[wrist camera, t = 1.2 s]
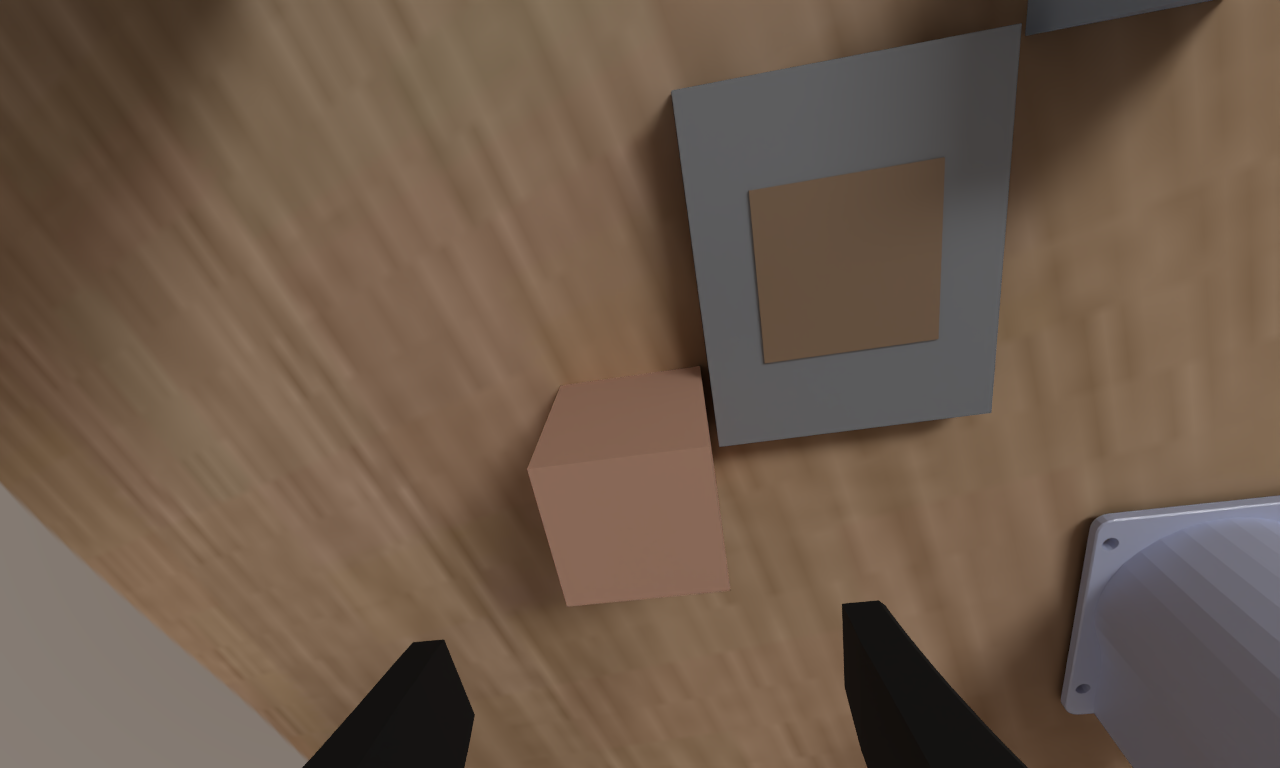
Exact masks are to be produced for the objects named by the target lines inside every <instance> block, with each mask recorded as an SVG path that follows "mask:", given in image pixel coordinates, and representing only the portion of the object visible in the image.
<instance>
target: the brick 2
mask: <svg viewBox="0 0 1280 768" xmlns="http://www.w3.org/2000/svg"><path fill="white" fill-rule="evenodd" d="M1206 1H1211V0H1028V8H1027V20H1026V33H1025V36H1028V35H1033V34H1038V33H1043V32H1049V31H1054V30H1059V29H1064V28H1070V27H1075V26H1080V25H1085V24H1091V23H1096V22H1101V21H1106V20H1112V19H1117V18H1122V17H1127V16H1133V15H1138V14H1143V13H1148V12H1154V11H1159V10H1164V9H1169V8H1175V7H1180V6H1185V5H1190V4H1196V3H1201V2H1206Z"/></svg>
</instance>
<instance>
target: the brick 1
mask: <svg viewBox="0 0 1280 768" xmlns="http://www.w3.org/2000/svg"><path fill="white" fill-rule="evenodd" d="M527 471H528V474H529V477H530V481H531V484H532V488H533V491H534V495H535V498H536V501H537V505H538V508H539V512H540V515H541V519H542V522H543V525H544V529H545V532H546V536H547V539H548V543H549V546H550V549H551V553H552V556H553V560H554V563H555V567H556V570H557V573H558V577H559V580H560V584H561V587H562V591H563V594H564V597H565V601H566V604H567V607H569V606H579V605H589V604H599V603H610V602H620V601H630V600H640V599H650V598H660V597H671V596H681V595H691V594H701V593H711V592H721V591H731V590H730V582H729V575H728V567H727V559H726V552H725V544H724V537H723V529H722V521H721V514H720V506H719V499H718V491H717V484H716V476H715V469H714V462H713V455H712V448H711V441H710V434H709V427H708V420H707V413H706V406H705V398H704V391H703V384H702V377H701V370H700V366H696V367H689V368H682V369H675V370H668V371H661V372H654V373H646V374H639V375H632V376H625V377H618V378H611V379H604V380H597V381H590V382H583V383H576V384H568V385H561V386H560V388H559V391H558V393H557V396H556V398H555V401H554V403H553V406H552V408H551V411H550V413H549V416H548V418H547V421H546V423H545V426H544V428H543V431H542V433H541V436H540V438H539V441H538V443H537V446H536V448H535V451H534V453H533V456H532V458H531V461H530V463H529V465H528V468H527Z"/></svg>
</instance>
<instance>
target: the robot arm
mask: <svg viewBox="0 0 1280 768" xmlns="http://www.w3.org/2000/svg"><path fill="white" fill-rule="evenodd" d="M1107 539H1109V540H1107ZM1105 540H1107V541H1106V542H1104V541H1105ZM842 618H843V649H844V680H845V690H846V694H847V698H848V702H849V705H850V709H851V713H852V717H853V721H854V725H855V728H856V732H857V736H858V740H859V743H860V747H861V751H862V754H863V756H864V759H865V762H866V765H867V767H868V768H1027V767H1026V765H1025V764H1024V763H1023V762H1022V761H1021V760H1020V759H1019V758H1018V757H1017V756H1016V755H1015V754H1014V753H1013V752H1012V751H1011V750H1010V749H1009V748H1008V747H1007V746H1006V745H1005V744H1004V743H1003V742H1002V741H1001V740H1000V739H999V738H998V737H997V736H996V735H995V734H994V733H993V732H992V731H991V730H990V729H989V728H988V726H987V725H986V724H985V723H984V722H983V721H982V720H981V719H980V718H979V717H978V716H977V715H976V713H975V712H974V711H973V710H972V709H971V708H970V707H969V706H968V705H967V704H966V702H965V701H964V700H963V699H962V698H961V697H960V696H959V695H958V694H957V693H956V691H955V690H954V689H953V688H952V687H951V686H950V685H949V684H948V683H947V681H946V680H945V679H944V678H943V677H942V676H941V674H940V673H939V672H938V671H937V670H936V669H935V667H934V666H933V665H932V664H931V663H930V662H929V660H928V659H927V658H926V657H925V656H924V654H923V653H922V652H921V651H920V650H919V648H918V647H917V646H916V645H915V643H914V642H913V641H912V640H911V639H910V637H909V636H908V635H907V633H906V632H905V631H904V630H903V628H902V627H901V626H900V625H899V623H898V622H897V621H896V619H895V618H894V617H893V615H892V614H891V613H890V611H889V610H888V609H887V607H886V606H885V605H884V604H883V603H881V602H880V601H868V602H857V603H846V604H842ZM1061 703H1062V705H1063V706H1064V708H1065V709H1066V710H1067V712H1069V713H1071V714H1091V713H1094V714H1095V715H1096V717H1097V718H1098V719H1099V721H1100V722H1101V724H1102V725H1103V726H1104V728H1105V729H1106V731H1107V732H1108V733H1109V735H1110V736H1111V738H1112V739H1113V740H1114V742H1115V743H1116V745H1117V746H1118V747H1119V749H1120V750H1121V752H1122V753H1123V754H1124V756H1125V757H1126V759H1127V760H1128V761H1129V763H1130V764H1131V766H1132V767H1133V768H1280V496H1270V497H1261V498H1251V499H1242V500H1233V501H1223V502H1214V503H1204V504H1195V505H1185V506H1176V507H1167V508H1157V509H1148V510H1138V511H1129V512H1119V513H1110V514H1105V515H1101V516H1099V517H1097V518H1096V519H1095V520H1094V521H1093V522H1092V524H1091V526H1090V530H1089V535H1088V541H1087V547H1086V553H1085V559H1084V565H1083V571H1082V577H1081V583H1080V589H1079V595H1078V600H1077V606H1076V612H1075V618H1074V624H1073V630H1072V636H1071V642H1070V648H1069V654H1068V659H1067V665H1066V671H1065V677H1064V683H1063V689H1062V695H1061ZM474 716H475V714H474V712H473V710H472V707H471V705H470V702H469V700H468V697H467V695H466V692H465V690H464V687H463V685H462V682H461V680H460V678H459V675H458V673H457V670H456V668H455V665H454V663H453V660H452V658H451V655H450V653H449V650H448V648H447V646H446V643H445V641H444V640H434V641H423V642H413V643H412V644H411V645H410V646H409V648H408V649H407V650H406V651H405V652H404V653H403V654H402V655H401V656H400V658H399V659H398V660H397V661H396V662H395V663H394V664H393V666H392V667H391V668H390V669H389V670H388V671H387V672H386V674H385V675H384V676H383V677H382V678H381V679H380V681H379V682H378V683H377V684H376V685H375V686H374V688H373V689H372V690H371V691H370V692H369V693H368V694H367V696H366V697H365V698H364V699H363V700H362V701H361V703H360V704H359V705H358V706H357V707H356V708H355V709H354V711H353V712H352V713H351V714H350V715H349V716H348V717H347V719H346V720H345V721H344V722H343V723H342V724H341V725H340V726H339V728H338V729H337V730H336V731H335V732H334V733H333V734H332V735H331V737H330V738H329V739H328V740H327V741H326V742H325V743H324V745H323V746H322V747H321V748H320V749H319V750H318V751H317V752H316V753H315V755H314V756H313V757H312V758H311V759H310V760H309V761H308V762H307V763H306V764H305V766H303V768H464V766H465V762H466V757H467V752H468V748H469V742H470V737H471V732H472V726H473V721H474Z"/></svg>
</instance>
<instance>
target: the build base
mask: <svg viewBox="0 0 1280 768" xmlns="http://www.w3.org/2000/svg"><path fill="white" fill-rule="evenodd" d="M1021 26H1022V23H1020V24H1015V25H1010V26H1004V27H999V28H994V29H989V30H984V31H979V32H973V33H968V34H963V35H958V36H953V37H947V38H942V39H937V40H932V41H927V42H921V43H916V44H911V45H906V46H901V47H896V48H890V49H885V50H880V51H875V52H870V53H864V54H859V55H854V56H849V57H844V58H839V59H833V60H828V61H823V62H818V63H813V64H807V65H802V66H797V67H792V68H787V69H781V70H776V71H771V72H766V73H761V74H756V75H750V76H745V77H740V78H735V79H730V80H724V81H719V82H714V83H709V84H704V85H698V86H693V87H688V88H683V89H678V90H673V91H671V95H672V103H673V110H674V117H675V125H676V132H677V140H678V147H679V155H680V162H681V169H682V177H683V184H684V192H685V199H686V206H687V214H688V221H689V229H690V236H691V243H692V251H693V258H694V266H695V273H696V280H697V288H698V295H699V303H700V310H701V317H702V325H703V332H704V340H705V347H706V355H707V362H708V369H709V377H710V384H711V392H712V399H713V406H714V414H715V421H716V429H717V435H718V441H719V447H723V446H731V445H739V444H747V443H755V442H762V441H770V440H778V439H786V438H794V437H802V436H810V435H818V434H826V433H834V432H842V431H850V430H858V429H866V428H874V427H882V426H890V425H898V424H906V423H914V422H921V421H929V420H937V419H945V418H953V417H961V416H969V415H977V414H985V413H991V409H992V396H993V384H994V371H995V358H996V345H997V333H998V320H999V307H1000V294H1001V282H1002V269H1003V256H1004V243H1005V231H1006V218H1007V205H1008V192H1009V180H1010V167H1011V154H1012V141H1013V129H1014V116H1015V103H1016V90H1017V78H1018V65H1019V52H1020V39H1021Z"/></svg>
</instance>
